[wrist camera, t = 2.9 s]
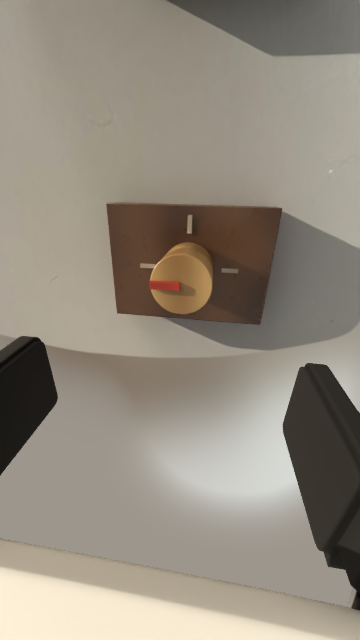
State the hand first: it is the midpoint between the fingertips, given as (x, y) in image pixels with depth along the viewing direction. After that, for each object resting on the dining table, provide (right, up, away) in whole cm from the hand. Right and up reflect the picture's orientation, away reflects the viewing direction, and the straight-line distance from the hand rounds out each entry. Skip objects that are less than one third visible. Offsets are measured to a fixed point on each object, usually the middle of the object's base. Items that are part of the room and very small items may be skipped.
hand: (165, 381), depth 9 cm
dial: (+1, +7, +13) cm, 14 cm away
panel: (+2, +8, +15) cm, 17 cm away
